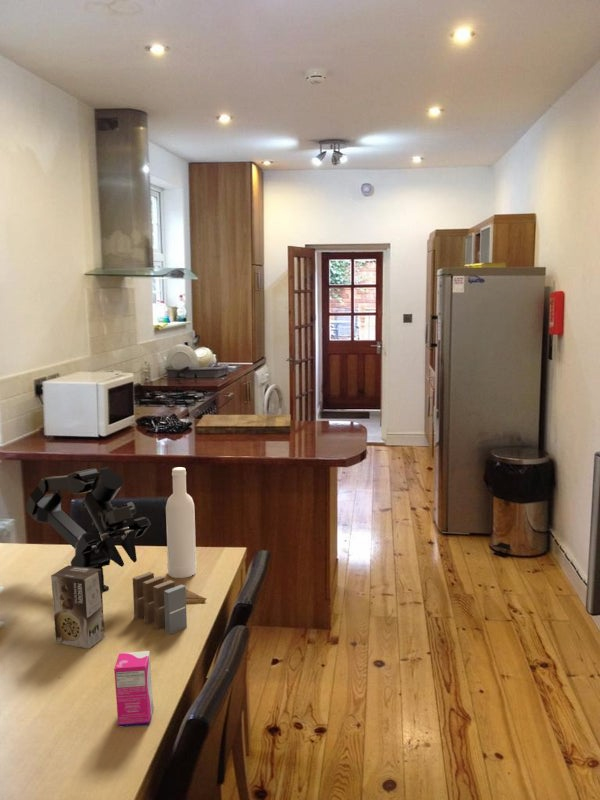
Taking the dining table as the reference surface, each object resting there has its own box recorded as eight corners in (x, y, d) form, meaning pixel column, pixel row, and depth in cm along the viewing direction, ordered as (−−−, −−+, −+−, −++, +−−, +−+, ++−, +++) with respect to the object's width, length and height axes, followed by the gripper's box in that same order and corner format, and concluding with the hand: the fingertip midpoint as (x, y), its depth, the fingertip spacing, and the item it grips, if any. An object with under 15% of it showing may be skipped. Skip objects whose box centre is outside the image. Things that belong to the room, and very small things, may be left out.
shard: (207, 604, 179) (206, 597, 178) (182, 613, 173) (182, 606, 173) (181, 592, 186) (180, 585, 186) (156, 601, 181) (156, 594, 180)
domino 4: (165, 632, 162) (163, 590, 161) (182, 624, 166) (181, 584, 165) (169, 634, 161) (168, 592, 160) (186, 627, 165) (185, 586, 164)
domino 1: (134, 617, 170) (132, 577, 169) (151, 610, 174) (149, 571, 173) (138, 619, 169) (136, 579, 168) (155, 612, 173) (153, 573, 171)
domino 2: (144, 622, 168) (142, 582, 166) (161, 615, 171) (159, 575, 170) (148, 624, 166) (146, 583, 165) (165, 617, 170) (164, 577, 169)
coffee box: (105, 636, 161) (102, 568, 158) (88, 649, 155) (85, 579, 152) (72, 630, 164) (68, 564, 161) (54, 643, 157) (50, 574, 155)
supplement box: (121, 709, 132) (119, 651, 130) (154, 707, 132) (151, 650, 131) (116, 727, 126) (113, 667, 125) (150, 725, 127) (147, 665, 125)
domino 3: (154, 627, 165) (153, 586, 164) (171, 619, 169) (170, 580, 167) (159, 629, 164) (157, 588, 162) (176, 622, 168) (174, 581, 166)
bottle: (201, 573, 197) (199, 468, 193) (177, 580, 192) (173, 473, 188) (186, 565, 203) (183, 463, 199) (162, 572, 198) (158, 468, 194)
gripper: (80, 502, 168) (108, 557, 162) (144, 486, 182) (173, 536, 176) (64, 527, 174) (91, 581, 168) (128, 510, 188) (155, 559, 182)
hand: (129, 563), depth 174 cm, fingers open, 3 cm apart
